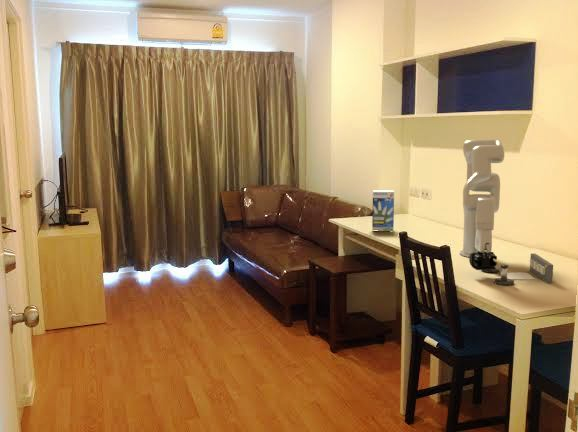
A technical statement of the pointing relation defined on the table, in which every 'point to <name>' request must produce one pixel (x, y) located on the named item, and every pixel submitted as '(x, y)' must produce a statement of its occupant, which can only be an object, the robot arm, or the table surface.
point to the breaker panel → (541, 268)
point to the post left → (492, 270)
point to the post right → (504, 277)
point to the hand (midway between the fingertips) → (483, 264)
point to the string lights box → (383, 210)
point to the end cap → (476, 261)
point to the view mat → (519, 276)
